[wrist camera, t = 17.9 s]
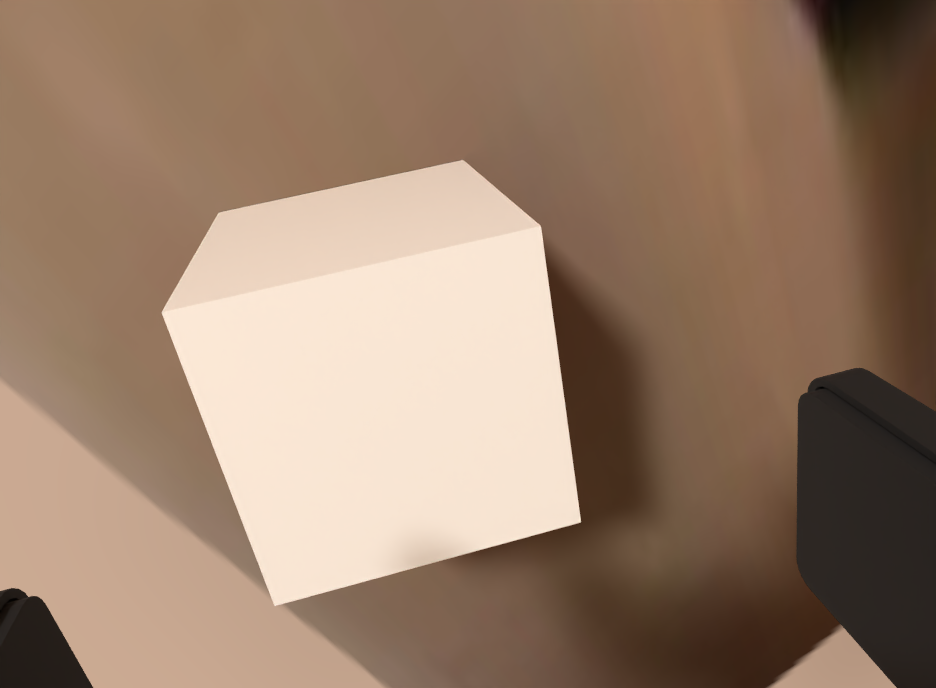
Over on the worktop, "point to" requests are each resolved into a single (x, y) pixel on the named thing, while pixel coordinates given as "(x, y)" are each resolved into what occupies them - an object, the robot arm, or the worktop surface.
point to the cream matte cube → (378, 376)
